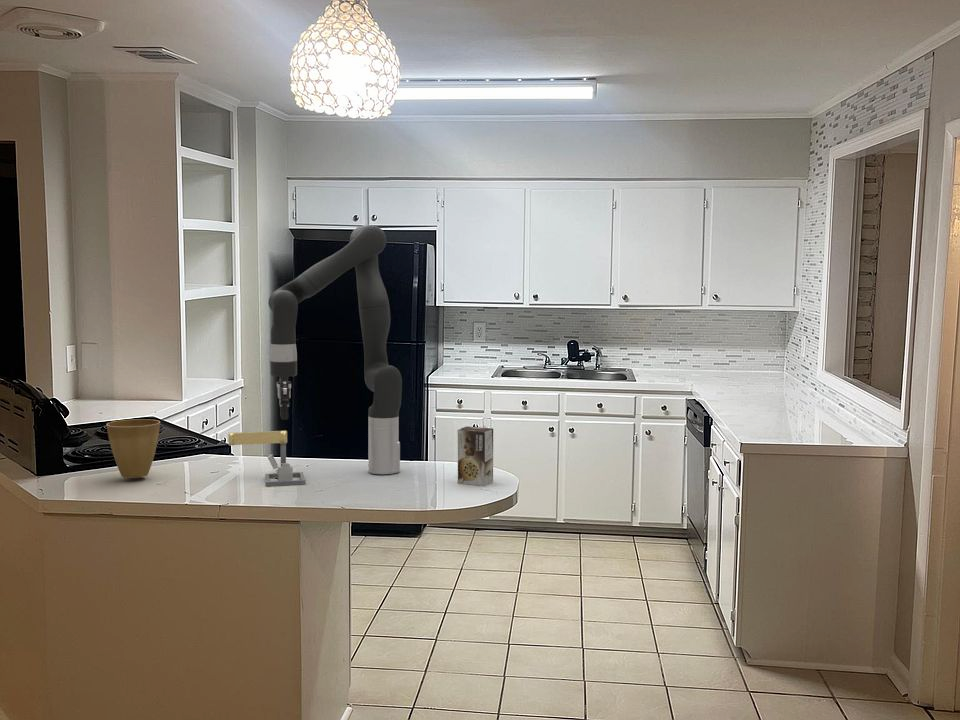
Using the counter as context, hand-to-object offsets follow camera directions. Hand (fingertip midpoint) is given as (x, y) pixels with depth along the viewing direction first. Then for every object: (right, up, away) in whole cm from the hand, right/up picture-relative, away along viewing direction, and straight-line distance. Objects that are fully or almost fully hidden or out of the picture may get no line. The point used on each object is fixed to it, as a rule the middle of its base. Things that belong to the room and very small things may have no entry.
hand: (284, 418), depth 254 cm
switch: (-1, -18, +5) cm, 19 cm away
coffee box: (+56, -19, +3) cm, 59 cm away
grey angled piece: (-2, -19, +2) cm, 19 cm away
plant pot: (-46, -18, +7) cm, 50 cm away
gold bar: (-10, -8, +8) cm, 15 cm away
